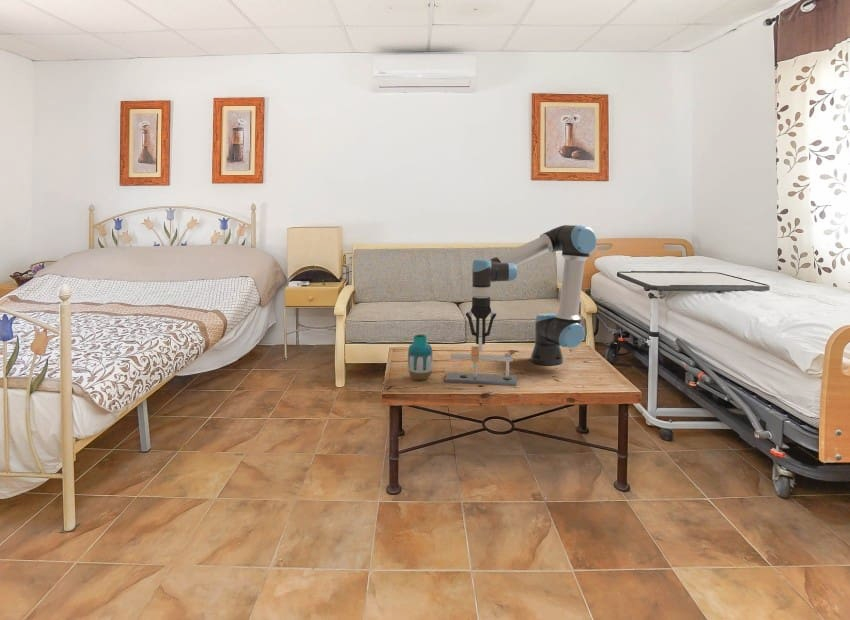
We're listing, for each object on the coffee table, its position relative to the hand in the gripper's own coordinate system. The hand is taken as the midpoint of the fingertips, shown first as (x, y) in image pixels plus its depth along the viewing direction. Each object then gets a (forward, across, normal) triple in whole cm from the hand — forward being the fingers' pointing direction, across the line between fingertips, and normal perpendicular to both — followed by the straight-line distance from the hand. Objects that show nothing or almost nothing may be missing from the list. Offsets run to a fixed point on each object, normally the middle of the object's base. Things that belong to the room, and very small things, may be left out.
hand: (480, 351), depth 223 cm
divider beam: (+11, 0, 0) cm, 11 cm away
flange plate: (+13, 0, 0) cm, 13 cm away
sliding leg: (+11, +2, 0) cm, 11 cm away
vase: (+13, +26, +2) cm, 29 cm away
